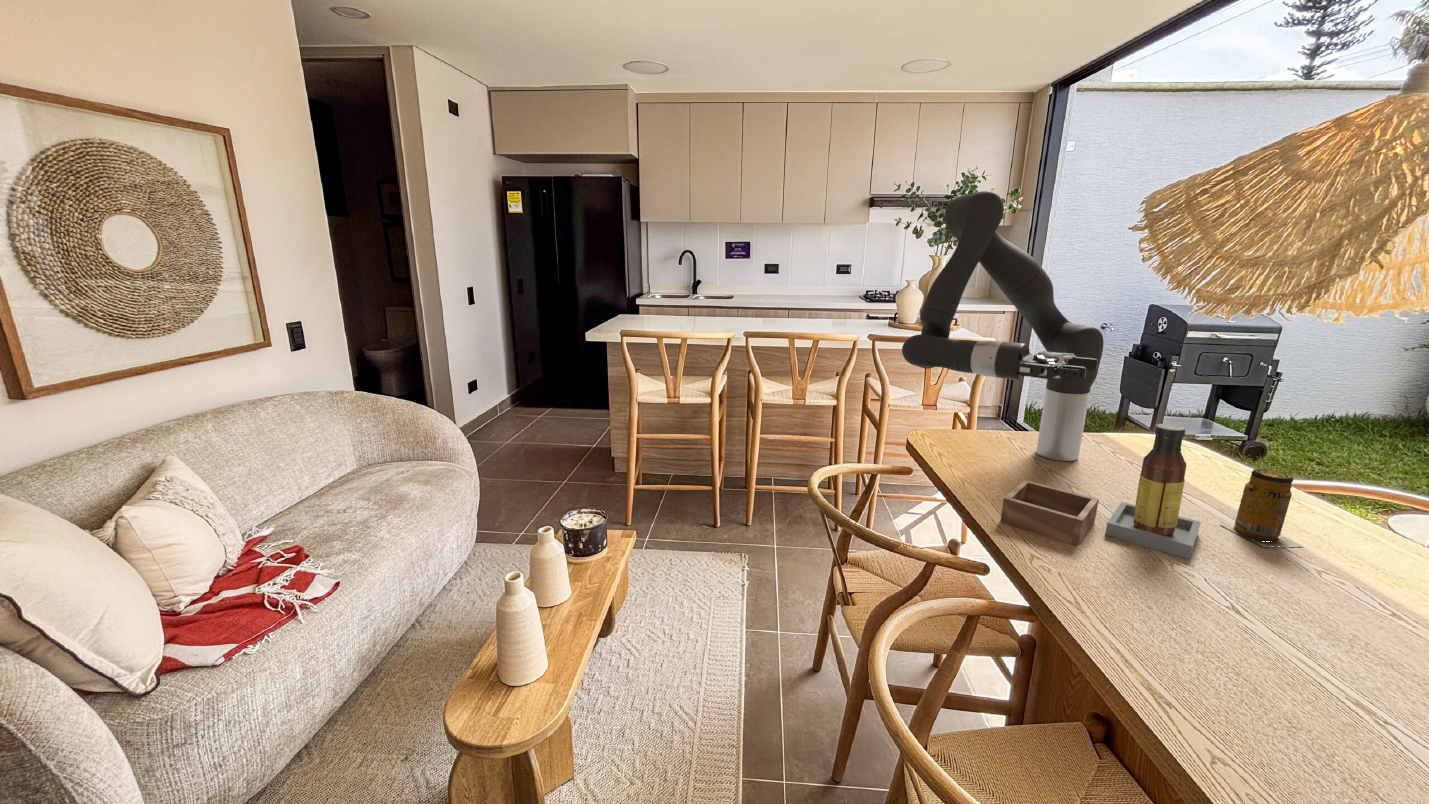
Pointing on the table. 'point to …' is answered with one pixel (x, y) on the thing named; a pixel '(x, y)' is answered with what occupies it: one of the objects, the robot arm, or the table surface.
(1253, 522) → the condiment
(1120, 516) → the tray
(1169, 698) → the table surface
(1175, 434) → the sauce bottle
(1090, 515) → the holder
